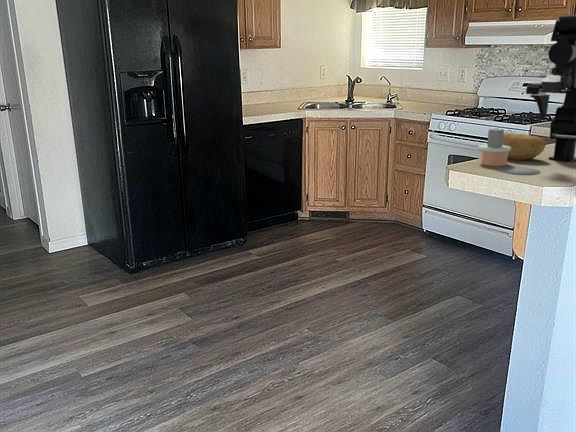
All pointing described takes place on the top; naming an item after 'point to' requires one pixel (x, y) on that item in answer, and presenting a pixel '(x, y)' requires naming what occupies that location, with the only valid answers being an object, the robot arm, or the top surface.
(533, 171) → the mat
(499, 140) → the lid
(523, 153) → the potato
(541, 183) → the top surface
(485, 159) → the cup
